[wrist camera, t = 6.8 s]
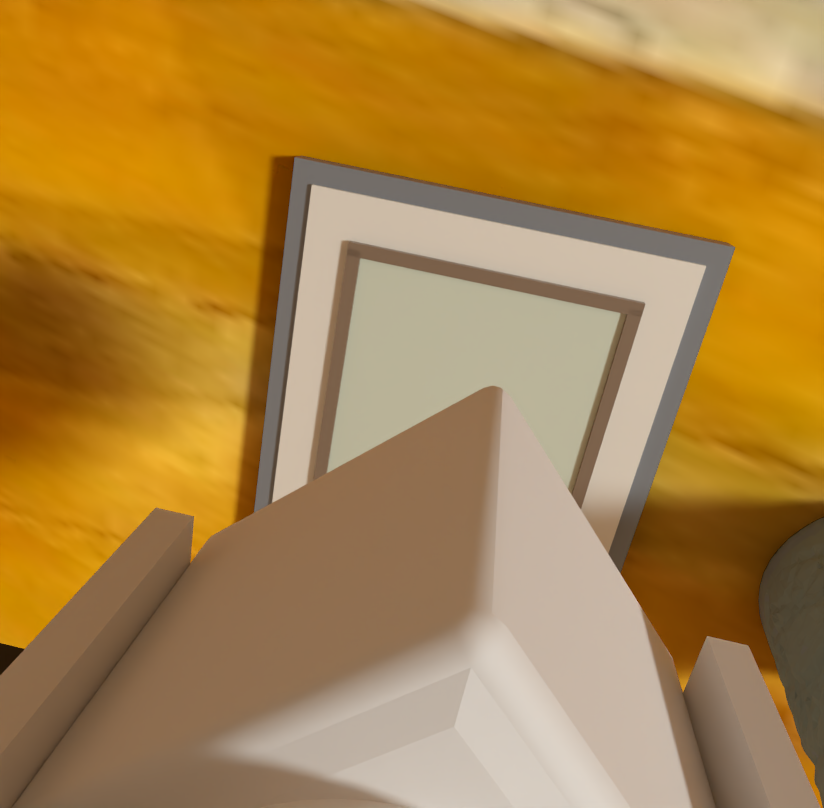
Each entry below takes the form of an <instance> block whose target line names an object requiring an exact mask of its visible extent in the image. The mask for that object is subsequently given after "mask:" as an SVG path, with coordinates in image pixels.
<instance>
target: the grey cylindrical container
mask: <svg viewBox="0 0 824 808" xmlns="http://www.w3.org/2000/svg"><path fill="white" fill-rule="evenodd" d="M759 613H760V618H761V622H762V625H763V628H764V631H765V634H766V637H767V640H768V643H769V646H770V649H771V652H772V655H773V657H774V659H775V663H776V667H777V670H778V673H779V676H780V680H781V682H782V684H783V686H784V688H785V693H786V698H787V701H788V705H789V708H790V710H791V712H792V714H793V718H794V721H795V725H796V728H797V731H798V734H799V736H800V738H801V745H802V747H803V749H804V751H805V753H806V754H807V755H808V757H809V758H810V759H811V761H812V762H813V763H814V765H815V784H816V786H817V788H818V789H819V792H820V796H821V801H822V805H823V808H824V518H821V519H819V520H816V521H815V522H813V523H811V524H809V525H808V526H806V527H804V528H803V529H801V530H800V531H799V532H797V533H796V534H794V535H793V536H792V537H790V538H789V539H788V540H787V541H786V542H785V543H784V544H783V545H782V546H781V548H780V549H779V550H778V551H777V552H776V553H775V555H774V556H773V557H772V558H771V560H770V562H769V564H768V566H767V568H766V570H765V572H764V574H763V577H762V580H761V584H760V591H759Z"/></svg>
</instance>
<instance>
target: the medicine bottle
mask: <svg viewBox="0 0 824 808" xmlns="http://www.w3.org/2000/svg"><path fill="white" fill-rule="evenodd" d="M12 808H716V805H715V802H714V799H713V795H712V792H711V788H710V785H709V782H708V778H707V775H706V771H705V768H704V764H703V761H702V758H701V754H700V751H699V747H698V744H697V740H696V737H695V734H694V730H693V727H692V723H691V720H690V716H689V713H688V710H687V706H686V703H685V699H684V696H683V692H682V689H681V686H680V682H679V679H678V675H677V672H676V668H675V665H674V662H673V658H672V656H671V655H670V653H669V651H668V650H667V648H666V647H665V645H664V643H663V642H662V640H661V638H660V637H659V635H658V634H657V632H656V630H655V629H654V627H653V626H652V624H651V622H650V621H649V619H648V617H647V616H646V614H645V613H644V611H643V609H642V608H641V606H640V605H639V603H638V601H637V600H636V598H635V597H634V595H633V593H632V592H631V590H630V588H629V587H628V585H627V584H626V582H625V580H624V579H623V577H622V576H621V574H620V572H619V571H618V569H617V567H616V566H615V564H614V563H613V561H612V559H611V558H610V556H609V555H608V553H607V551H606V550H605V548H604V546H603V545H602V543H601V542H600V540H599V538H598V537H597V535H596V534H595V532H594V530H593V529H592V527H591V525H590V524H589V522H588V521H587V519H586V517H585V516H584V514H583V513H582V511H581V509H580V508H579V506H578V505H577V503H576V501H575V500H574V498H573V496H572V495H571V493H570V492H569V490H568V488H567V487H566V485H565V484H564V482H563V480H562V479H561V477H560V475H559V474H558V472H557V471H556V469H555V467H554V466H553V464H552V463H551V461H550V459H549V458H548V456H547V454H546V453H545V451H544V450H543V448H542V446H541V445H540V443H539V442H538V440H537V438H536V437H535V435H534V433H533V432H532V430H531V429H530V427H529V425H528V424H527V422H526V421H525V419H524V417H523V416H522V414H521V413H520V411H519V409H518V408H517V406H516V404H515V403H514V401H513V400H512V398H511V396H510V395H509V394H508V393H506V392H505V391H504V390H503V389H502V388H500V387H496V386H489V387H485V388H482V389H480V390H479V391H477V392H475V393H473V394H471V395H469V396H468V397H466V398H464V399H462V400H460V401H458V402H457V403H455V404H453V405H451V406H449V407H447V408H446V409H444V410H442V411H440V412H438V413H436V414H435V415H433V416H431V417H429V418H427V419H425V420H423V421H422V422H420V423H418V424H416V425H414V426H412V427H411V428H409V429H407V430H405V431H403V432H401V433H400V434H398V435H396V436H394V437H392V438H390V439H389V440H387V441H385V442H383V443H381V444H379V445H378V446H376V447H374V448H372V449H370V450H368V451H367V452H365V453H363V454H361V455H359V456H357V457H356V458H354V459H352V460H350V461H348V462H346V463H345V464H343V465H341V466H339V467H337V468H335V469H334V470H332V471H330V472H328V473H326V474H324V475H323V476H321V477H319V478H317V479H315V480H313V481H312V482H310V483H308V484H306V485H304V486H302V487H301V488H299V489H297V490H295V491H293V492H291V493H290V494H288V495H286V496H284V497H282V498H280V499H278V500H277V501H275V502H273V503H271V504H269V505H267V506H266V507H264V508H262V509H260V510H258V511H256V512H255V513H253V514H251V515H249V516H247V517H245V518H244V519H242V520H240V521H238V522H236V523H234V524H233V525H231V526H229V527H227V528H225V529H223V530H222V531H220V532H218V533H216V534H214V535H213V536H211V537H210V538H209V539H208V541H207V542H206V543H205V544H204V546H203V547H202V548H201V550H200V551H199V552H198V554H197V555H196V557H195V558H194V559H193V561H192V562H191V563H190V565H189V566H188V568H187V569H186V570H185V572H184V573H183V574H182V576H181V577H180V579H179V580H178V581H177V583H176V584H175V585H174V587H173V588H172V589H171V591H170V592H169V594H168V595H167V596H166V598H165V599H164V600H163V602H162V603H161V604H160V606H159V607H158V609H157V610H156V611H155V613H154V614H153V615H152V617H151V618H150V619H149V621H148V622H147V624H146V625H145V626H144V628H143V629H142V630H141V632H140V633H139V635H138V636H137V637H136V639H135V640H134V641H133V643H132V644H131V645H130V647H129V648H128V650H127V651H126V652H125V654H124V655H123V656H122V658H121V659H120V660H119V662H118V663H117V665H116V666H115V667H114V669H113V670H112V671H111V673H110V674H109V675H108V677H107V678H106V680H105V681H104V682H103V684H102V685H101V686H100V688H99V689H98V690H97V692H96V693H95V695H94V696H93V697H92V699H91V700H90V701H89V703H88V704H87V705H86V707H85V708H84V710H83V711H82V712H81V714H80V715H79V716H78V718H77V719H76V720H75V722H74V723H73V725H72V726H71V727H70V729H69V730H68V731H67V733H66V734H65V736H64V737H63V738H62V740H61V741H60V742H59V744H58V745H57V746H56V748H55V749H54V751H53V752H52V753H51V755H50V756H49V757H48V759H47V760H46V761H45V763H44V764H43V766H42V767H41V768H40V770H39V771H38V772H37V774H36V775H35V776H34V778H33V779H32V781H31V782H30V783H29V785H28V786H27V787H26V789H25V790H24V791H23V793H22V794H21V796H20V797H19V798H18V800H17V801H16V802H15V804H14V805H13V806H12Z"/></svg>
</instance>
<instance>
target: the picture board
mask: <svg viewBox="0 0 824 808" xmlns="http://www.w3.org/2000/svg"><path fill="white" fill-rule="evenodd" d="M734 250H735V247H734V246H732V245H730V244H729V243H726V242H721V241H716V240H711V239H706V238H702V237H697V236H692V235H687V234H682V233H677V232H672V231H667V230H662V229H658V228H653V227H648V226H643V225H638V224H633V223H628V222H623V221H618V220H614V219H609V218H604V217H599V216H594V215H589V214H584V213H579V212H574V211H570V210H565V209H560V208H555V207H550V206H545V205H540V204H535V203H530V202H526V201H521V200H516V199H511V198H506V197H501V196H496V195H491V194H486V193H482V192H477V191H472V190H467V189H462V188H457V187H452V186H447V185H442V184H438V183H433V182H428V181H423V180H418V179H413V178H408V177H403V176H398V175H394V174H389V173H384V172H379V171H374V170H369V169H364V168H359V167H354V166H350V165H345V164H340V163H335V162H330V161H325V160H320V159H315V158H310V157H306V156H298V157H295V159H294V167H293V176H292V185H291V194H290V202H289V211H288V220H287V228H286V237H285V246H284V255H283V263H282V272H281V281H280V289H279V298H278V307H277V316H276V324H275V333H274V342H273V351H272V359H271V368H270V377H269V385H268V394H267V403H266V412H265V420H264V429H263V438H262V447H261V455H260V464H259V473H258V481H257V490H256V499H255V508H254V513H255V512H256V511H258V510H260V509H262V508H264V507H266V506H267V505H269V504H271V503H273V502H275V501H277V500H278V499H280V498H282V497H284V496H286V495H288V494H290V493H291V492H293V491H295V490H297V489H299V488H301V487H302V486H304V485H306V484H308V483H310V482H312V481H313V480H315V479H317V478H319V477H321V476H323V475H324V474H326V473H328V472H330V471H332V470H334V469H335V468H337V467H339V466H341V465H343V464H345V463H346V462H348V461H350V460H352V459H354V458H356V457H357V456H359V455H361V454H363V453H365V452H367V451H368V450H370V449H372V448H374V447H376V446H378V445H379V444H381V443H383V442H385V441H387V440H389V439H390V438H392V437H394V436H396V435H398V434H400V433H401V432H403V431H405V430H407V429H409V428H411V427H412V426H414V425H416V424H418V423H420V422H422V421H423V420H425V419H427V418H429V417H431V416H433V415H435V414H436V413H438V412H440V411H442V410H444V409H446V408H447V407H449V406H451V405H453V404H455V403H457V402H458V401H460V400H462V399H464V398H466V397H468V396H469V395H471V394H473V393H475V392H477V391H479V390H480V389H482V388H485V387H489V386H496V387H500V388H502V389H503V390H504V391H505V392H506V393H508V394H509V395H510V396H511V398H512V400H513V401H514V403H515V404H516V406H517V408H518V409H519V411H520V413H521V414H522V416H523V417H524V419H525V421H526V422H527V424H528V425H529V427H530V429H531V430H532V432H533V433H534V435H535V437H536V438H537V440H538V442H539V443H540V445H541V446H542V448H543V450H544V451H545V453H546V454H547V456H548V458H549V459H550V461H551V463H552V464H553V466H554V467H555V469H556V471H557V472H558V474H559V475H560V477H561V479H562V480H563V482H564V484H565V485H566V487H567V488H568V490H569V492H570V493H571V495H572V496H573V498H574V500H575V501H576V503H577V505H578V506H579V508H580V509H581V511H582V513H583V514H584V516H585V517H586V519H587V521H588V522H589V524H590V525H591V527H592V529H593V530H594V532H595V534H596V535H597V537H598V538H599V540H600V542H601V543H602V545H603V546H604V548H605V550H606V551H607V553H608V555H609V556H610V558H611V559H612V561H613V563H614V564H615V566H616V567H617V569H618V571H619V572H620V573H621V570H622V567H623V564H624V561H625V559H626V556H627V553H628V550H629V547H630V544H631V542H632V539H633V536H634V533H635V530H636V527H637V525H638V522H639V519H640V516H641V513H642V510H643V508H644V505H645V502H646V499H647V496H648V493H649V491H650V488H651V485H652V482H653V479H654V476H655V474H656V471H657V468H658V465H659V462H660V459H661V457H662V454H663V451H664V448H665V445H666V442H667V440H668V437H669V434H670V431H671V428H672V425H673V423H674V420H675V417H676V414H677V411H678V408H679V406H680V403H681V400H682V397H683V394H684V391H685V389H686V386H687V383H688V380H689V377H690V374H691V372H692V369H693V366H694V363H695V360H696V357H697V355H698V352H699V349H700V346H701V343H702V340H703V338H704V335H705V332H706V329H707V326H708V323H709V321H710V318H711V315H712V312H713V309H714V306H715V304H716V301H717V298H718V295H719V292H720V289H721V287H722V284H723V281H724V278H725V275H726V272H727V270H728V267H729V264H730V261H731V258H732V255H733V253H734Z"/></svg>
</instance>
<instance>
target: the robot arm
mask: <svg viewBox="0 0 824 808" xmlns="http://www.w3.org/2000/svg"><path fill="white" fill-rule="evenodd" d="M193 521H194V516H189V515H185V514H181V513H176V512H172V511H168V510H164V509H159V508H155V509H154V510H153V511H152V512H151V513H150V515H149V516H148V517H147V518H146V519H145V520H144V521H143V522H142V523H141V524H140V525H139V526H138V528H137V529H136V530H135V531H134V532H133V533H132V534H131V535H130V536H129V537H128V538H127V539H126V540H125V542H124V543H123V544H122V545H121V546H120V547H119V548H118V549H117V550H116V551H115V552H114V553H113V554H112V556H111V557H110V558H109V559H108V560H107V561H106V562H105V563H104V564H103V565H102V566H101V567H100V569H99V570H98V571H97V572H96V573H95V574H94V575H93V576H92V577H91V578H90V579H89V580H88V581H87V583H86V584H85V585H84V586H83V587H82V588H81V589H80V590H79V591H78V592H77V593H76V594H75V595H74V597H73V598H72V599H71V600H70V601H69V602H68V603H67V604H66V605H65V606H64V607H63V608H62V610H61V611H60V612H59V613H58V614H57V615H56V616H55V617H54V618H53V619H52V620H51V621H50V622H49V624H48V625H47V626H46V627H45V628H44V629H43V630H42V631H41V632H40V633H39V634H38V635H37V636H36V638H35V639H34V640H33V641H32V642H31V643H30V644H29V645H28V646H27V647H26V648H25V649H22V648H18V647H14V646H10V645H6V644H2V643H0V808H12V806H13V805H14V804H15V802H16V801H17V800H18V798H19V797H20V796H21V794H22V793H23V791H24V790H25V789H26V787H27V786H28V785H29V783H30V782H31V781H32V779H33V778H34V776H35V775H36V774H37V772H38V771H39V770H40V768H41V767H42V766H43V764H44V763H45V761H46V760H47V759H48V757H49V756H50V755H51V753H52V752H53V751H54V749H55V748H56V746H57V745H58V744H59V742H60V741H61V740H62V738H63V737H64V736H65V734H66V733H67V731H68V730H69V729H70V727H71V726H72V725H73V723H74V722H75V720H76V719H77V718H78V716H79V715H80V714H81V712H82V711H83V710H84V708H85V707H86V705H87V704H88V703H89V701H90V700H91V699H92V697H93V696H94V695H95V693H96V692H97V690H98V689H99V688H100V686H101V685H102V684H103V682H104V681H105V680H106V678H107V677H108V675H109V674H110V673H111V671H112V670H113V669H114V667H115V666H116V665H117V663H118V662H119V660H120V659H121V658H122V656H123V655H124V654H125V652H126V651H127V650H128V648H129V647H130V645H131V644H132V643H133V641H134V640H135V639H136V637H137V636H138V635H139V633H140V632H141V630H142V629H143V628H144V626H145V625H146V624H147V622H148V621H149V619H150V618H151V617H152V615H153V614H154V613H155V611H156V610H157V609H158V607H159V606H160V604H161V603H162V602H163V600H164V599H165V598H166V596H167V595H168V594H169V592H170V591H171V589H172V588H173V587H174V585H175V584H176V583H177V581H178V580H179V579H180V577H181V576H182V574H183V573H184V572H185V570H186V569H187V568H188V566H189V565H190V559H191V546H192V534H193ZM683 696H684V699H685V703H686V706H687V710H688V713H689V716H690V720H691V723H692V727H693V730H694V734H695V737H696V740H697V744H698V747H699V751H700V754H701V758H702V761H703V764H704V768H705V771H706V775H707V778H708V782H709V785H710V788H711V792H712V795H713V799H714V802H715V805H716V808H820V806H819V803H818V801H817V799H816V797H815V794H814V792H813V790H812V788H811V785H810V783H809V781H808V779H807V776H806V774H805V772H804V770H803V767H802V765H801V763H800V761H799V758H798V756H797V754H796V752H795V749H794V747H793V745H792V743H791V740H790V738H789V736H788V734H787V731H786V729H785V727H784V725H783V722H782V720H781V718H780V716H779V713H778V711H777V709H776V707H775V704H774V702H773V700H772V697H771V695H770V693H769V691H768V688H767V686H766V684H765V682H764V679H763V677H762V675H761V673H760V670H759V668H758V666H757V664H756V661H755V659H754V657H753V655H752V652H751V650H750V648H749V646H748V645H744V644H740V643H736V642H731V641H727V640H723V639H718V638H714V637H710V636H707V637H706V640H705V642H704V644H703V647H702V649H701V652H700V654H699V656H698V659H697V661H696V664H695V666H694V668H693V671H692V673H691V675H690V678H689V680H688V683H687V685H686V687H685V690H684V692H683Z"/></svg>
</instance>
